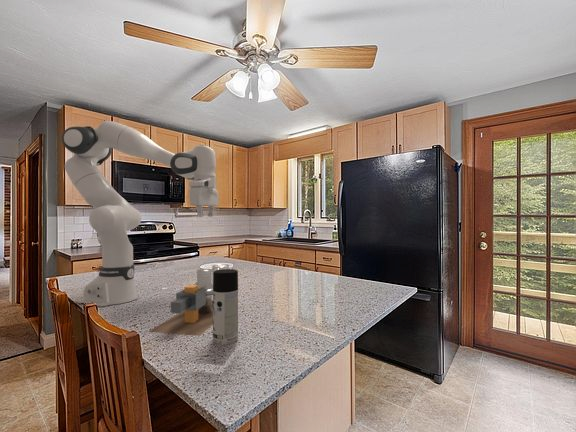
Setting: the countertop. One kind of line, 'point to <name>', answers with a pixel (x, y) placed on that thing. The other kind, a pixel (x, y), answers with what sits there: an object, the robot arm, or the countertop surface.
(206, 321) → the base board
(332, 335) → the countertop surface
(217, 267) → the beer glass
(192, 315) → the orange rectangular block
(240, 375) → the countertop surface
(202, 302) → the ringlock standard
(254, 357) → the countertop surface
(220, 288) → the spray can
